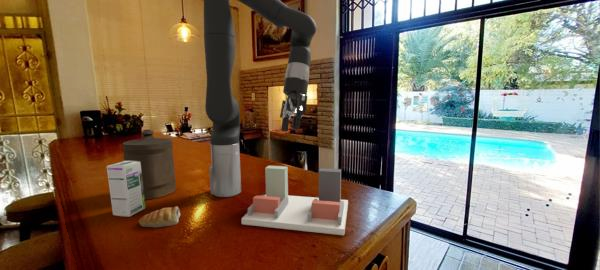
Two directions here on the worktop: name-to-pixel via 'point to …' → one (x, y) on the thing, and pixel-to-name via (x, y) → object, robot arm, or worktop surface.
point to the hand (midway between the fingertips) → (289, 130)
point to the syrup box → (126, 188)
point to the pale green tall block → (276, 181)
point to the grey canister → (153, 163)
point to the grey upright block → (330, 185)
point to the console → (298, 214)
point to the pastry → (161, 217)
